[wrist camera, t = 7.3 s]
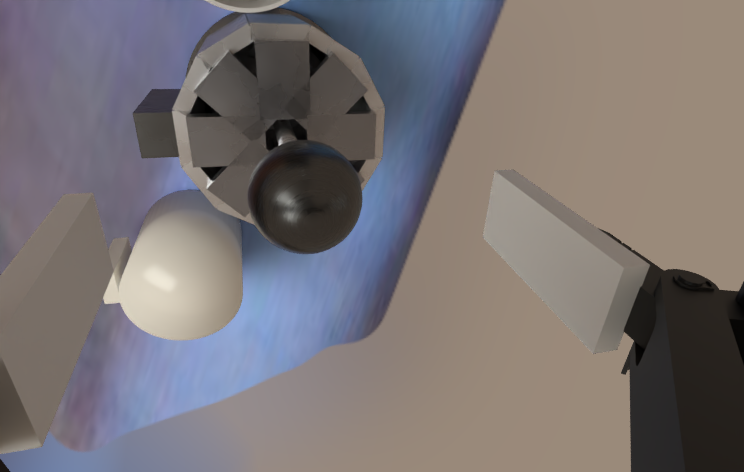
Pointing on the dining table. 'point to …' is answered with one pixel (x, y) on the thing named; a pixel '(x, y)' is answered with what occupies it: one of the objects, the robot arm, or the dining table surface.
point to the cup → (247, 5)
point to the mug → (180, 269)
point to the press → (261, 104)
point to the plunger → (301, 185)
